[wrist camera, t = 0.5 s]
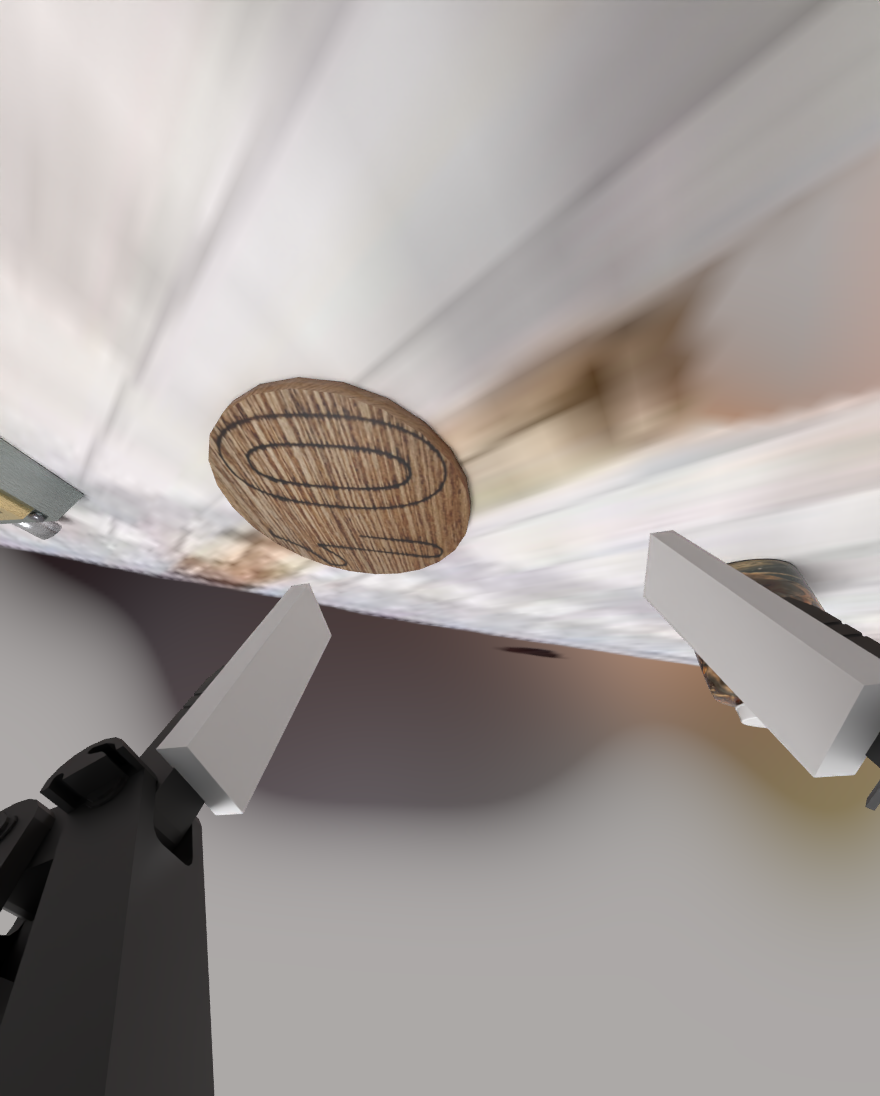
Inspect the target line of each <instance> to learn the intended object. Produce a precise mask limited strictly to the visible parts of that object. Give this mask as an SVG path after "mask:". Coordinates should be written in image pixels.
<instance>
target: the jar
mask: <svg viewBox="0 0 880 1096" xmlns="http://www.w3.org/2000/svg"><path fill="white" fill-rule="evenodd" d="M728 565H729V566H731V567H733V568H734V569H736V570H738V571H739V572H741V573H742V574H744V575H746V576H747V577H749V578H750V579H752V580H754V581H755V582H757V583H758V584H760V585H762V586H763V587H765V588H766V589H768V590H770V591H771V592H773V593H775V594H776V595H778V596H779V597H781V598H782V597H792V598H794V599H797V600H800V601H802V602H805V603H808V604H810V605H813V606H816V607H818V608H820V609H821V610H823V611H824V609H823V607H822V606H821V604H820V603H819V601H818V600H817V598H816V597H815V595H814V594H813V592H812V591H811V589H810V587H809V586H808V584H807V583H806V581H805V580H804V578H803V577H802V575H801V574H800V572H799V571H798V570H797V568H796V567H795V566H793V565H792V564H790V563H787V562H784V561H779V560H749V561H741V562H735V563H730V564H728ZM695 654H696V657H697V659H698V662H699V665H700V667H701V670H702V672H703V675H704V677H705V680H706V682H707V685H708V687H709V689H710V691H711V693H712V695H713V697H714V698H715V699H716V700H717V701H718V702H720V703H723V704H726V705H729V706H733V707H735V709H736V711H737V712H738V715H739V717H740V720H741V722H742V723H743V724H745V725H749V726H755V727H763V728H767V727H766V726H765V725H764V724H763V723H762V722H761V721H760V720H759V719H758V718H757V717H756V715H755V714H754V713H753V712H752V711H751V710H750V709H749V708H748V707H747V706H746V705H745V704H744V703H743V702H742V701H741V700H740V698H739V697H738V696H737V695H736V694H735V693H734V692H733V691H732V690H731V689H730V688H729V687H728V686H727V685H726V684H725V683H724V681H723V680H722V679H721V678H720V677H719V676H718V675H717V674H716V673H715V672H714V671H713V670H712V669H711V668H710V667H709V666H708V664H707V663H706V662H705V661H704V660H703V659H702V658H701V657H700V656H699V655H698V654H697V653H696V652H695Z"/></svg>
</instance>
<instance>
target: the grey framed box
mask: <svg viewBox="0 0 880 1096" xmlns="http://www.w3.org/2000/svg"><path fill="white" fill-rule="evenodd" d="M83 495H84V494H82V493H81V492H79V491H78V490H76V489H75V488H73V487H72V486H70V485H69V484H67V483H66V482H64V481H63V480H61V479H60V478H58V477H57V476H56V475H54V474H53V473H51V472H50V471H48V470H47V469H45V468H44V467H42V466H41V465H39V464H38V463H36V462H35V461H33V460H32V459H30V458H29V457H28V456H26V455H25V454H23V453H22V452H20V451H19V450H17V449H16V448H14V447H13V446H11V445H10V444H8V443H7V442H5V441H4V440H2V439H1V438H0V524H7V523H12V524H14V525H16V526H17V527H19V528H21V529H23V530H25V531H27V532H29V533H31V534H33V535H35V536H37V537H39V538H41V539H43V540H45V539H48V538H50V537H52V536H54V535H55V534H57V533H58V532H59V531H60V529H61V527H62V526H61V525H60V524H58V523H56V522H54V521H57V520H58V519H59V518H61V517H62V516H63V515H64V514H65V513H66V512H67V511H68V510H69V509H70V508H71V507H72V506H73V505H74V504H75V503H76V502H77V501H78V500H79V499H80V498H81V497H82V496H83Z"/></svg>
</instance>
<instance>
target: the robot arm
mask: <svg viewBox="0 0 880 1096" xmlns="http://www.w3.org/2000/svg"><path fill="white" fill-rule="evenodd" d="M643 597H644V598H645V599H646V600H647V601H648V602H649V603H650V604H651V605H652V606H653V607H654V608H655V609H656V610H657V611H658V612H659V614H660V615H661V616H662V617H663V618H664V619H665V620H666V621H667V622H668V623H669V624H670V625H671V626H672V627H673V628H674V629H675V630H676V632H677V633H678V634H679V635H680V636H681V637H682V638H683V639H684V640H685V641H686V642H687V643H688V644H689V645H690V646H691V647H692V649H693V650H694V651H695V652H696V653H697V654H698V655H699V656H700V657H701V658H702V659H703V660H704V661H705V662H706V663H707V664H708V666H709V667H710V668H711V669H712V670H713V671H714V672H715V673H716V674H717V675H718V676H719V677H720V678H721V679H722V680H723V681H724V683H725V684H726V685H727V686H728V687H729V688H730V689H731V690H732V691H733V692H734V693H735V694H736V695H737V696H738V697H739V698H740V700H741V701H742V702H743V703H744V704H745V705H746V706H747V707H748V708H749V709H750V710H751V711H752V712H753V713H754V714H755V715H756V717H757V718H758V719H759V720H760V721H761V722H762V723H763V724H764V725H765V726H766V727H767V728H768V729H769V730H770V731H771V732H772V734H773V735H774V736H775V737H776V738H777V739H778V740H779V741H780V742H781V743H782V744H783V745H784V746H785V747H786V748H787V749H788V750H789V751H790V752H791V754H792V755H793V756H794V757H795V758H796V759H797V760H798V761H799V762H800V763H801V764H802V765H803V766H804V767H805V769H806V770H807V771H808V772H809V773H810V774H811V775H812V776H813V777H829V776H844V775H855V774H856V772H857V771H858V769H859V767H860V766H861V764H862V763H863V761H864V760H865V758H866V756H867V757H868V758H869V759H870V760H871V761H873V762H874V763H875V764H876V765H877V766H878V767H879V768H880V644H879V643H878V642H876V641H874V640H873V639H871V638H869V637H867V636H865V637H864V636H862V633H861V632H859V631H857V630H856V629H854V628H852V627H850V626H849V625H847V624H842V623H841V621H840V620H838V619H837V618H835V617H833V616H832V615H830V614H828V613H827V612H825V611H823V610H821V609H820V608H818V607H816V606H813V605H810V604H808V603H805V602H802V601H800V600H797V599H794V598H792V597H782V598H781V597H779V596H778V595H776V594H775V593H773V592H771V591H770V590H768V589H766V588H765V587H763V586H762V585H760V584H758V583H757V582H755V581H754V580H752V579H750V578H749V577H747V576H746V575H744V574H742V573H741V572H739V571H738V570H736V569H734V568H733V567H731V566H729V565H728V564H726V563H725V562H723V561H721V560H720V559H718V558H717V557H715V556H713V555H712V554H710V553H709V552H707V551H705V550H704V549H702V548H701V547H699V546H697V545H696V544H694V543H692V542H691V541H689V540H688V539H686V538H684V537H683V536H681V535H680V534H678V533H676V532H675V531H673V530H671V531H664V532H657V533H650V539H649V549H648V558H647V567H646V576H645V585H644V594H643ZM330 637H331V633H330V631H329V629H328V626H327V624H326V622H325V619H324V617H323V615H322V612H321V610H320V607H319V605H318V603H317V600H316V598H315V596H314V593H313V591H312V589H311V586H310V584H309V583H308V584H301V585H294V586H291V587H290V589H289V590H288V591H287V592H286V593H285V595H284V596H283V597H282V598H281V599H280V601H279V602H278V603H277V604H276V605H275V607H274V608H273V609H272V610H271V611H270V613H269V614H268V615H267V616H266V618H265V619H264V620H263V621H262V622H261V623H260V625H259V626H258V627H257V629H256V630H255V631H254V632H253V633H252V634H251V635H250V637H249V638H248V639H247V640H246V642H245V643H244V644H243V645H242V646H241V648H240V649H239V650H238V651H237V652H236V654H235V655H234V656H233V657H232V658H231V660H230V661H229V662H228V663H227V664H226V665H224V666H222V667H221V668H220V669H219V670H217V671H216V672H215V673H214V674H212V676H210V677H209V678H208V679H206V681H205V682H204V683H203V684H202V685H201V687H200V688H199V689H198V690H197V691H196V692H195V693H194V697H191V698H190V699H189V700H188V702H187V703H186V704H185V705H184V709H181V710H180V711H179V712H178V713H177V714H176V716H175V717H174V718H173V719H172V720H171V721H170V723H169V724H168V725H167V726H166V727H165V729H164V730H163V731H162V732H161V733H160V734H159V735H158V737H157V738H156V739H155V740H154V741H153V743H152V744H151V745H150V746H149V747H148V748H147V750H146V751H145V752H144V753H143V754H142V756H140V758H139V757H138V756H137V755H136V754H135V752H133V750H132V749H131V748H130V747H129V746H128V745H127V744H126V743H125V742H124V741H123V740H122V739H119V738H116V737H115V738H110V739H104V740H102V741H100V742H98V743H95V744H93V745H91V746H89V747H87V748H86V749H84V750H83V751H81V752H79V753H78V754H77V755H75V756H73V757H72V758H71V759H70V760H68V761H67V762H66V763H65V764H63V765H62V766H61V767H60V768H59V769H58V770H57V771H56V772H55V773H54V774H53V775H52V776H51V777H50V778H49V779H48V780H47V782H46V783H45V785H44V786H43V788H42V789H41V791H40V793H41V794H43V795H44V796H45V797H47V798H48V799H49V800H50V801H52V802H53V803H55V805H57V806H58V807H56V808H53V809H50V810H49V809H48V808H47V807H45V806H44V805H43V804H41V803H40V802H39V801H37V800H33V799H27V800H24V801H21V802H18V803H16V804H14V805H12V806H10V807H8V808H6V809H4V810H2V811H0V911H1V910H2V909H4V910H6V911H8V912H10V913H11V914H13V915H15V916H17V917H18V918H17V920H16V921H15V923H14V925H13V927H12V928H11V929H10V931H9V932H8V933H7V935H0V1096H214V1079H213V1059H212V1038H211V1016H210V995H209V975H208V955H207V954H208V952H207V931H206V912H205V891H204V890H205V889H204V869H203V848H202V847H203V846H202V826H201V823H200V821H199V819H198V818H197V817H196V816H197V814H198V812H199V811H200V809H201V807H202V806H203V804H204V803H205V804H206V805H207V806H208V807H209V808H210V809H211V810H212V811H213V812H214V814H215V815H227V814H242V813H244V811H245V809H246V807H247V805H248V803H249V801H250V799H251V797H252V794H253V793H254V790H255V788H256V786H257V784H258V782H259V780H260V778H261V776H262V774H263V772H264V770H265V768H266V766H267V764H268V762H269V760H270V758H271V756H272V754H273V752H274V750H275V748H276V746H277V744H278V742H279V740H280V738H281V736H282V734H283V732H284V730H285V728H286V726H287V724H288V722H289V720H290V718H291V716H292V714H293V712H294V710H295V708H296V706H297V704H298V702H299V700H300V698H301V696H302V694H303V692H304V690H305V688H306V686H307V684H308V682H309V680H310V678H311V676H312V674H313V672H314V670H315V667H316V665H317V664H318V661H319V659H320V658H321V656H322V653H323V652H324V649H325V647H326V645H327V643H328V641H329V639H330ZM879 804H880V781H879V782H878V784H877V785H876V786H875V788H874V789H873V790H872V792H871V793H870V795H869V796H868V798H867V802H866V807H867V808H869V809H872V810H875V809H876V808H877V806H878V805H879Z"/></svg>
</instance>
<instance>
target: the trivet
mask: <svg viewBox="0 0 880 1096" xmlns="http://www.w3.org/2000/svg"><path fill="white" fill-rule="evenodd" d="M209 463H210V466H211V468H212V471H213V474H214V477H215V480H216V483H217V485H218V487H219V488H220V489H221V491H222V492H223V494H224V495H225V497H226V498H227V499H228V501H229V502H230V504H231V505H232V507H233V508H234V509H235V510H236V511H237V512H238V513H239V514H240V515H241V516H242V517H244V518H245V519H246V520H247V521H248V522H249V523H250V524H251V525H252V526H253V527H254V528H256V529H257V530H258V531H260V532H261V533H263V534H264V535H266V536H267V537H268V538H270V539H271V540H273V541H274V542H276V543H277V544H279V545H281V546H283V547H285V548H287V549H289V550H291V551H293V552H295V553H297V554H299V555H301V556H303V557H306V558H308V559H311V560H314V561H316V562H319V563H322V564H325V565H328V566H332V567H336V568H340V569H344V570H349V571H354V572H363V573H372V574H392V573H403V572H408V571H414V570H419V569H422V568H425V567H427V566H430V565H432V564H434V563H437V562H439V561H441V560H442V559H443V558H445V557H446V556H447V555H449V554H450V553H451V552H453V551H454V550H455V549H456V548H457V546H458V545H459V543H460V542H461V540H462V539H463V537H464V536H465V534H466V530H467V526H468V521H469V516H470V505H471V501H470V495H469V490H468V484H467V478H466V476H465V474H464V472H463V470H462V468H461V466H460V465H459V463H458V461H457V459H456V457H455V455H454V454H453V452H452V450H451V449H450V448H449V447H448V446H447V445H446V444H445V442H444V441H443V440H442V439H441V438H440V437H439V436H438V435H437V434H436V433H435V432H434V431H433V430H432V429H431V428H430V427H429V426H428V425H427V424H426V423H425V422H424V421H422V420H421V419H419V418H418V417H416V416H415V415H413V414H411V413H410V412H408V411H407V410H405V409H404V408H402V407H400V406H399V405H397V404H396V403H394V402H393V401H391V400H390V399H388V398H386V397H383V396H380V395H377V394H375V393H372V392H369V391H366V390H363V389H361V388H358V387H355V386H352V385H350V384H347V383H344V382H337V381H328V380H319V379H310V378H301V377H297V378H292V379H286V380H281V381H275V382H269V383H264V384H260V385H258V386H256V387H255V388H253V389H251V390H250V391H248V392H247V393H245V394H243V395H242V396H240V397H238V398H237V399H235V400H234V401H232V403H231V404H230V405H229V406H228V407H227V408H226V410H225V411H224V412H223V414H222V415H221V417H220V419H219V420H218V422H217V424H216V425H215V427H214V428H213V430H212V432H211V433H210V440H209Z"/></svg>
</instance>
